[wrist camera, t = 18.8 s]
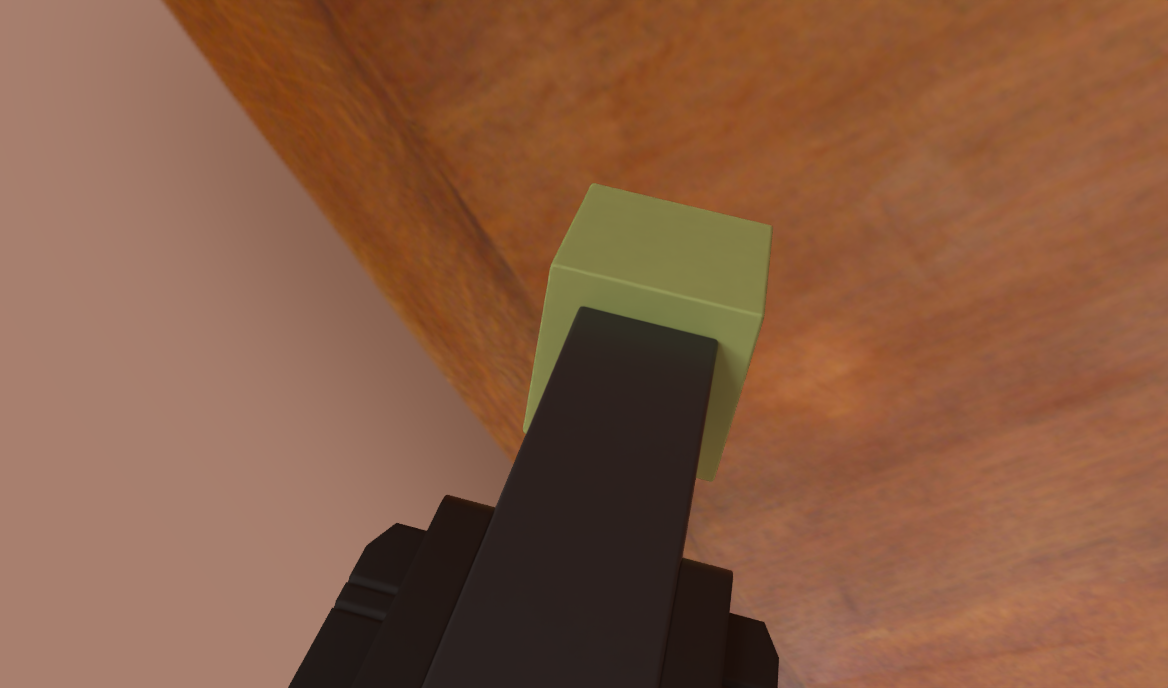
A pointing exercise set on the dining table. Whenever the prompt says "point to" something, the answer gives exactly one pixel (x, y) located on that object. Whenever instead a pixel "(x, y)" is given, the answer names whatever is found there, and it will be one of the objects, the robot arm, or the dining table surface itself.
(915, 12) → the dining table surface
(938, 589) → the dining table surface
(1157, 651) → the dining table surface
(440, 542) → the robot arm
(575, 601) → the brush
